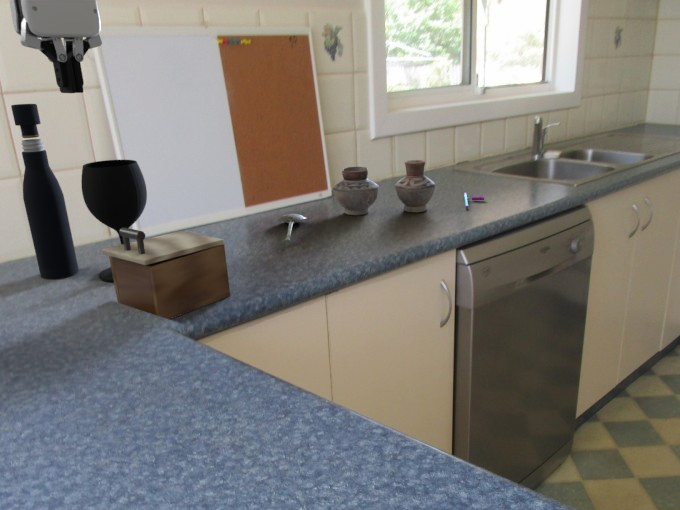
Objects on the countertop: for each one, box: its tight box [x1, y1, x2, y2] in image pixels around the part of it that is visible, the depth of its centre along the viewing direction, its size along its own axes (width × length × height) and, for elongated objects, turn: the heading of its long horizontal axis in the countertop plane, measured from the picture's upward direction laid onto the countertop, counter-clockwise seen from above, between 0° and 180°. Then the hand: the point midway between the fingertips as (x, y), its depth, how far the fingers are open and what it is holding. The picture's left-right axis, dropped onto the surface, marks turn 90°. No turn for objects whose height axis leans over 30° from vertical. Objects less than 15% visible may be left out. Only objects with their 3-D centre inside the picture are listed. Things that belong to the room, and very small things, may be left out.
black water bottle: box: [10, 103, 80, 280], centre depth 117 cm, size 6×6×30 cm
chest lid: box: [101, 227, 225, 265], centre depth 103 cm, size 14×11×4 cm
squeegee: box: [463, 192, 485, 209], centre depth 170 cm, size 15×1×5 cm
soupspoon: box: [277, 213, 307, 247], centre depth 145 cm, size 22×3×7 cm
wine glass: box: [80, 159, 148, 283], centre depth 118 cm, size 10×10×20 cm
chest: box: [108, 243, 231, 320], centre depth 105 cm, size 14×11×9 cm
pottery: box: [332, 159, 436, 216], centre depth 161 cm, size 11×25×12 cm, turn 97°
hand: (72, 92), depth 92 cm, fingers closed
